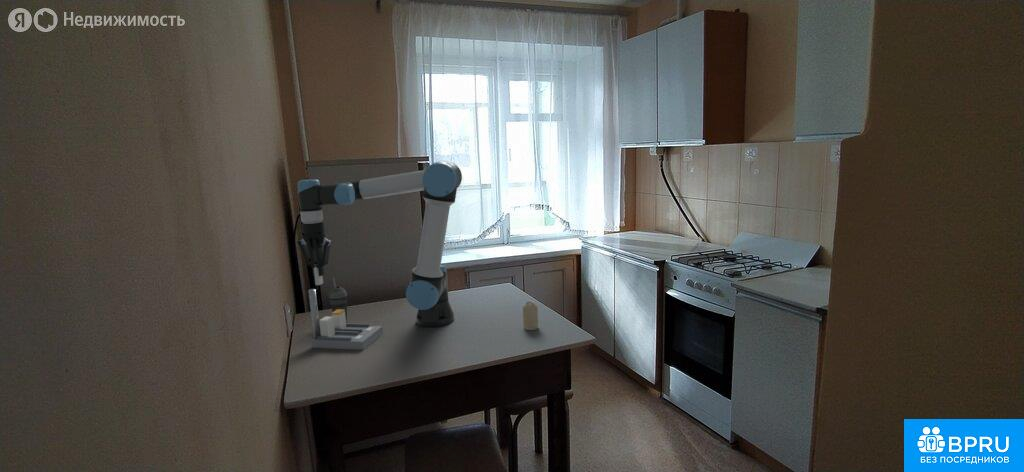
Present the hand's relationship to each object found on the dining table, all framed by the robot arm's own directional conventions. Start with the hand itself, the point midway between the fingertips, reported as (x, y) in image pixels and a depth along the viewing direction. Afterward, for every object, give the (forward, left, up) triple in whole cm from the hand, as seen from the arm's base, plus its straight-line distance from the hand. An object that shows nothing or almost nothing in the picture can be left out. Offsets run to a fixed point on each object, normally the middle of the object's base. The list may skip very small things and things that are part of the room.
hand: (319, 284), depth 179 cm
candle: (-77, -14, -21) cm, 81 cm away
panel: (-12, +4, -20) cm, 24 cm away
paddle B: (-6, +8, -17) cm, 20 cm away
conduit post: (-3, +9, -17) cm, 20 cm away
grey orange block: (-6, 0, -17) cm, 19 cm away
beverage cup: (+1, -12, -21) cm, 24 cm away
